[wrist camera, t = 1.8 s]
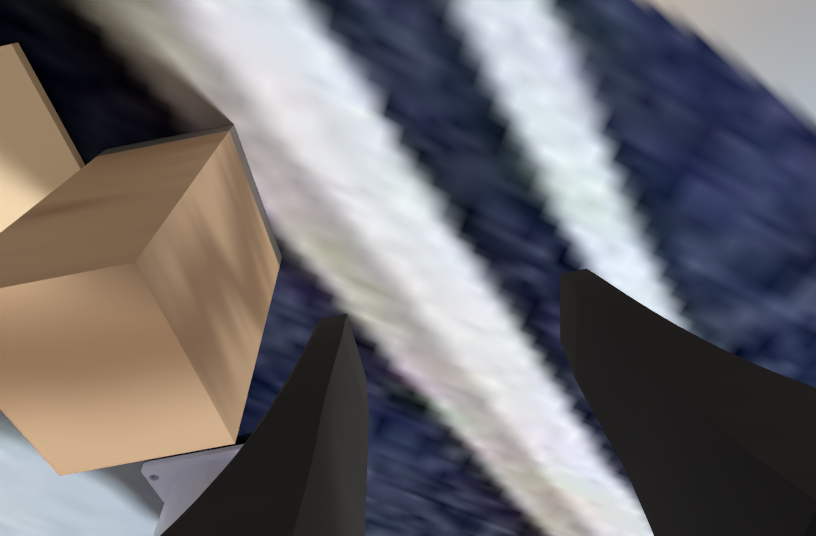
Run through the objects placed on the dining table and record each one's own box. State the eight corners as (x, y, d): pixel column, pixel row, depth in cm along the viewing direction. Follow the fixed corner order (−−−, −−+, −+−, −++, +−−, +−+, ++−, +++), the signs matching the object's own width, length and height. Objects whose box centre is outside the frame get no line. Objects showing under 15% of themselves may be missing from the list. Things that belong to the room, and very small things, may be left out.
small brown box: (281, 257, 22) (235, 443, 14) (171, 277, 22) (59, 476, 14) (233, 124, 19) (134, 262, 11) (105, 149, 19) (-93, 305, 11)
